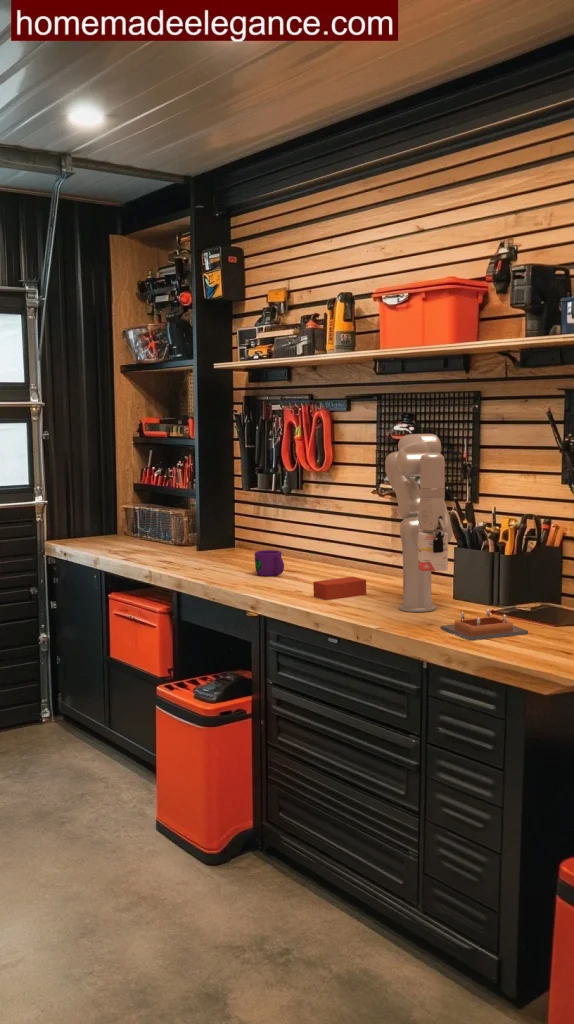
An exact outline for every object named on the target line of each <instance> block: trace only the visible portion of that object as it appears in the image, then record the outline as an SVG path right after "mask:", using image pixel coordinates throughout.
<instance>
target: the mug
mask: <svg viewBox="0 0 574 1024" xmlns="http://www.w3.org/2000/svg"><path fill="white" fill-rule="evenodd" d="M254 566H255V573H256V575H258V576H259V577H277V576H279V575H281V574H283V572H284V571H285V570H284V569H285V563H284V560H283V558H282V551H280V550H277V549H276V550H275V549H268V550H266V549H264V550H259V551H255V552H254Z"/></svg>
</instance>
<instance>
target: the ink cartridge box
mask: <svg viewBox="0 0 574 1024" xmlns="http://www.w3.org/2000/svg"><path fill="white" fill-rule="evenodd" d="M436 530H438V529H436ZM437 534H438V532H437ZM433 540H435V539H434V534H433V531H428V530H423V529H421V528H420V523H419V533H418V569H419V570H421V571H431V572H443V571H448V567H449V566H448V561H449V559H448V557H449V556H448V553H449V552H448V551H449V550H448V549H449V547H448V546H449V545H448V543H449V542H448V534H447V533H445V535H444V540H443V552H440V553H434V552H433Z"/></svg>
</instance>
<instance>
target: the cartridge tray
mask: <svg viewBox="0 0 574 1024" xmlns="http://www.w3.org/2000/svg"><path fill="white" fill-rule="evenodd" d="M513 623H514V622H512V621H509V620H507V614H502V618H500V617H497V616H491V609H490V608H487V609H486V616H485V617H479V616H478V617H475V618H468V619H467V618H466V619H465V611H461V612H460V619H457V620H454V624H453V623H452V624H445V625H440V626H439V628H440V630H442V631H444V632H447V633H450V634H452V635H454V634H455V635H454V636H457V637H459V636H460V637H459V638H462V639H464V638H465V639H464V640H466V639H468V640H467V641H469V640H472V641H477V640H476V639H480V640H487V639H488V638H489V639H495V638H496V639H497V638H504V637H505V638H506V637H512V636H513V637H514V636H520V635H521V636H523V635H528V634H529V630H527V629H525V628H522V627H519V626H516V625H513ZM485 638H487V639H485ZM489 639H488V640H489Z"/></svg>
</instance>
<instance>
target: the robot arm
mask: <svg viewBox="0 0 574 1024" xmlns="http://www.w3.org/2000/svg"><path fill="white" fill-rule="evenodd" d="M397 447H398V451H397V450H396V451H393V452H391V453H389V454H388V455H387V456H386V458H385V461H384V463H385V465H384V466H385V468H384V469H385V474H386V477H387V480H388V482H389V484H390V485H391V487H392V489H393V490H394V493H395V496H396V501H397V505H398V510H399V513H400V516H401V517H402V519H403V520H402V521H401V522H400V524H399V534H400V540H401V549H402V551H401V552H402V591H403V592H402V595H401V599H402V600H403V601H402V603H400V604H399V605H398V609H399V610H400V611H402V612H403V611H404V612H408V613H409V612H410V613H411V612H412V613H425V612H426V613H427V612H431V611H435V610H436V609H437V605H436V604H435V603H432V571H421V570H419V569H418V533H419V523H420V528H421V529H423V530H428V531H433V534H434V539H435V540H433V552H434V553H440V552H443V540H444V535H445V533H447V534H448V543H449V542H450V541H451V540H452V537H453V527H452V523H451V519H450V516H449V512H448V509H447V504H446V501H445V498H446V497H445V496H446V494H445V492H446V490H445V488H446V486H445V483H446V481H445V479H446V478H445V476H446V475H445V472H446V471H445V467H446V463H445V457H444V455H443V454H441V452H442V442H441V440H440V438H439V436H438V435H436V434H433V433H412V434H411V433H410V434H406V435H404V436H402V437H401V438H400V439H399V441H398V444H397ZM412 477H419V481H420V482H419V484H418V483H417V482H416V481H415V480H414V479H413V478H412ZM436 529H438V530H436ZM437 532H438V534H437Z"/></svg>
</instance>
